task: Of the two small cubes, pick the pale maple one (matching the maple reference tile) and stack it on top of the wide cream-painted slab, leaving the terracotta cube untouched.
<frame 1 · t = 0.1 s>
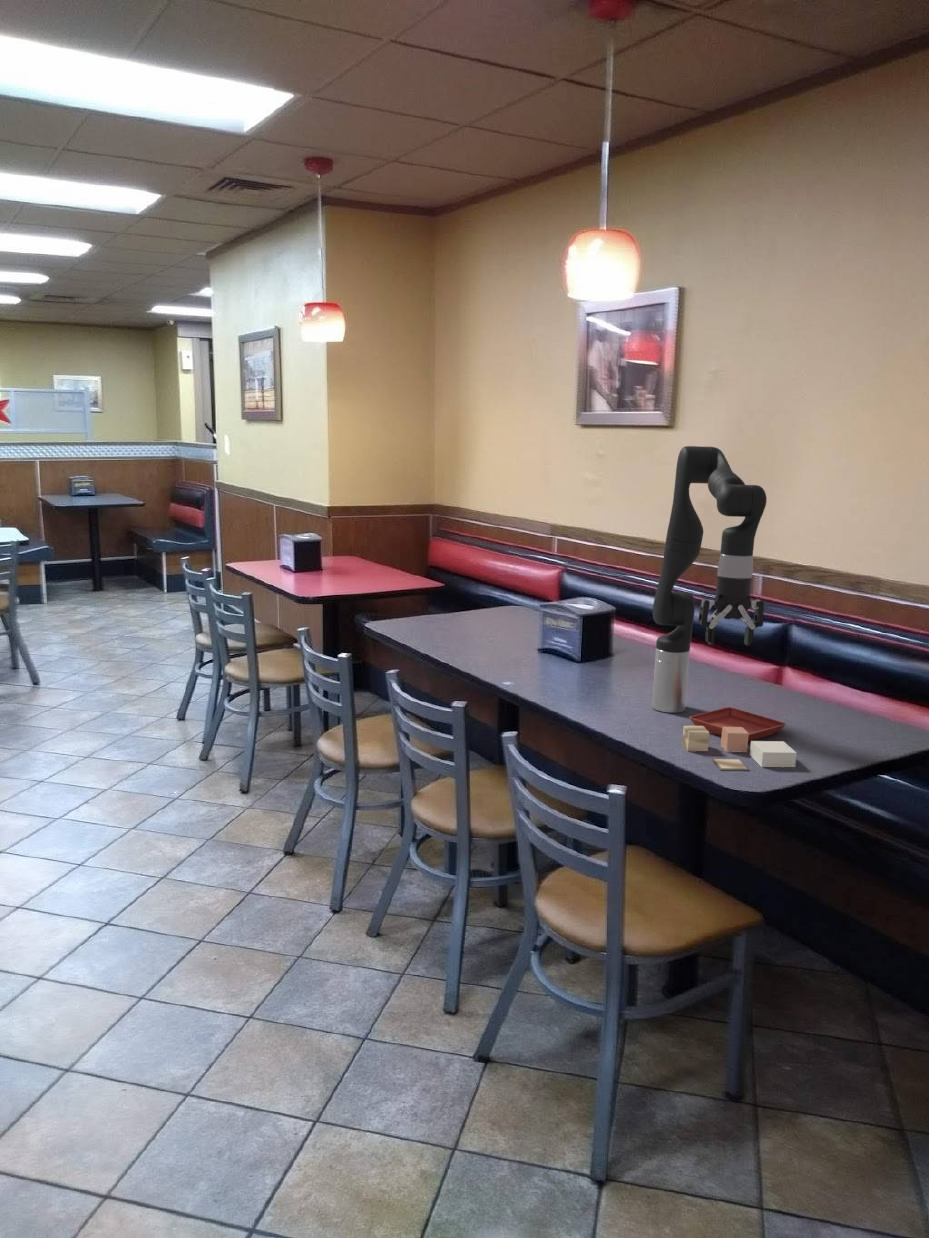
hand: (728, 644, 211), 29 cm above the table, fingers open, 8 cm apart
maple cube: (694, 748, 228), on the table
base slab: (771, 762, 220), on the table
plant saucer: (736, 732, 243), on the table
reference tile: (730, 765, 216), on the table
terracotta cube: (733, 749, 228), on the table
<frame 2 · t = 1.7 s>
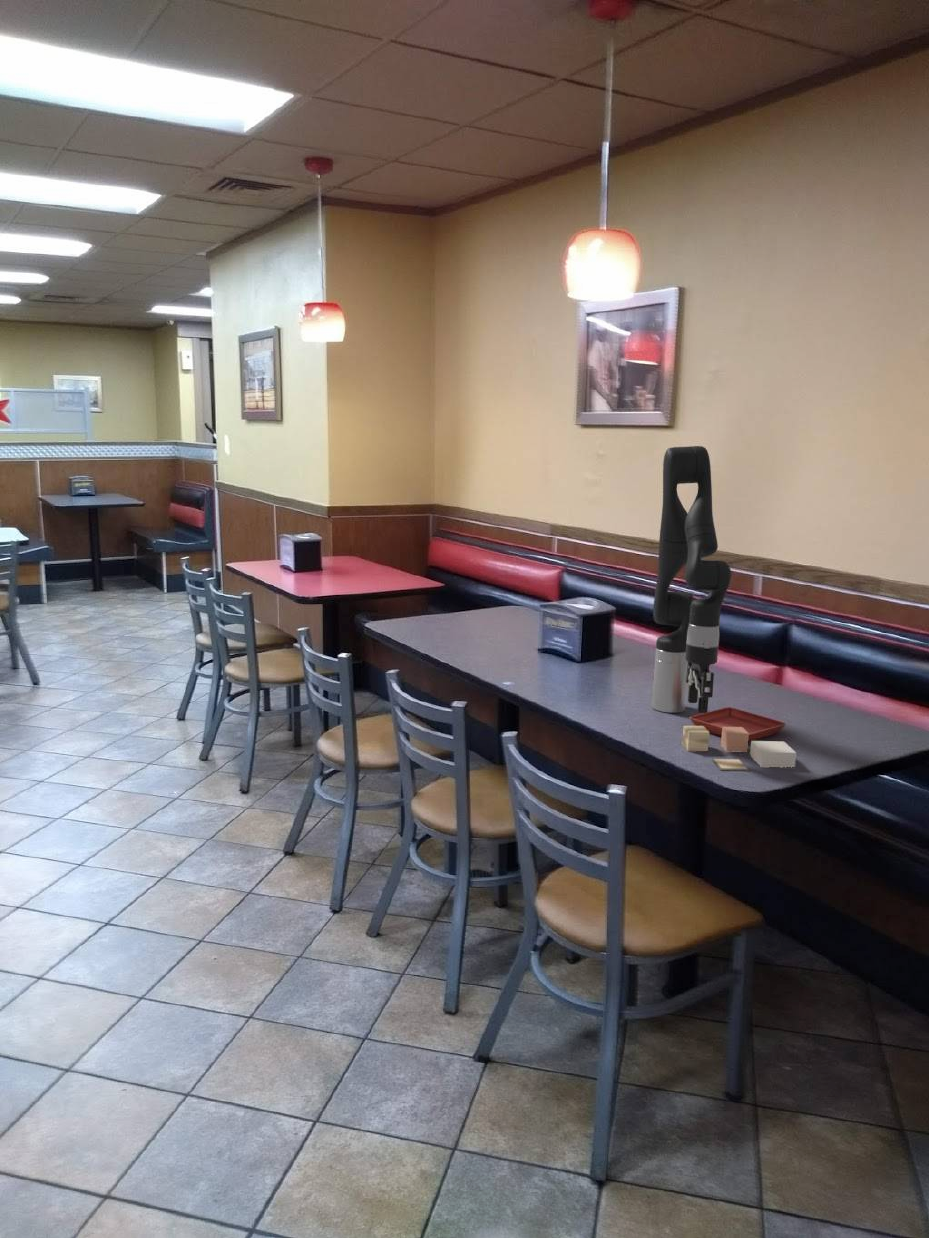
hand: (697, 707, 226), 10 cm above the table, fingers open, 8 cm apart
nothing on the table moved.
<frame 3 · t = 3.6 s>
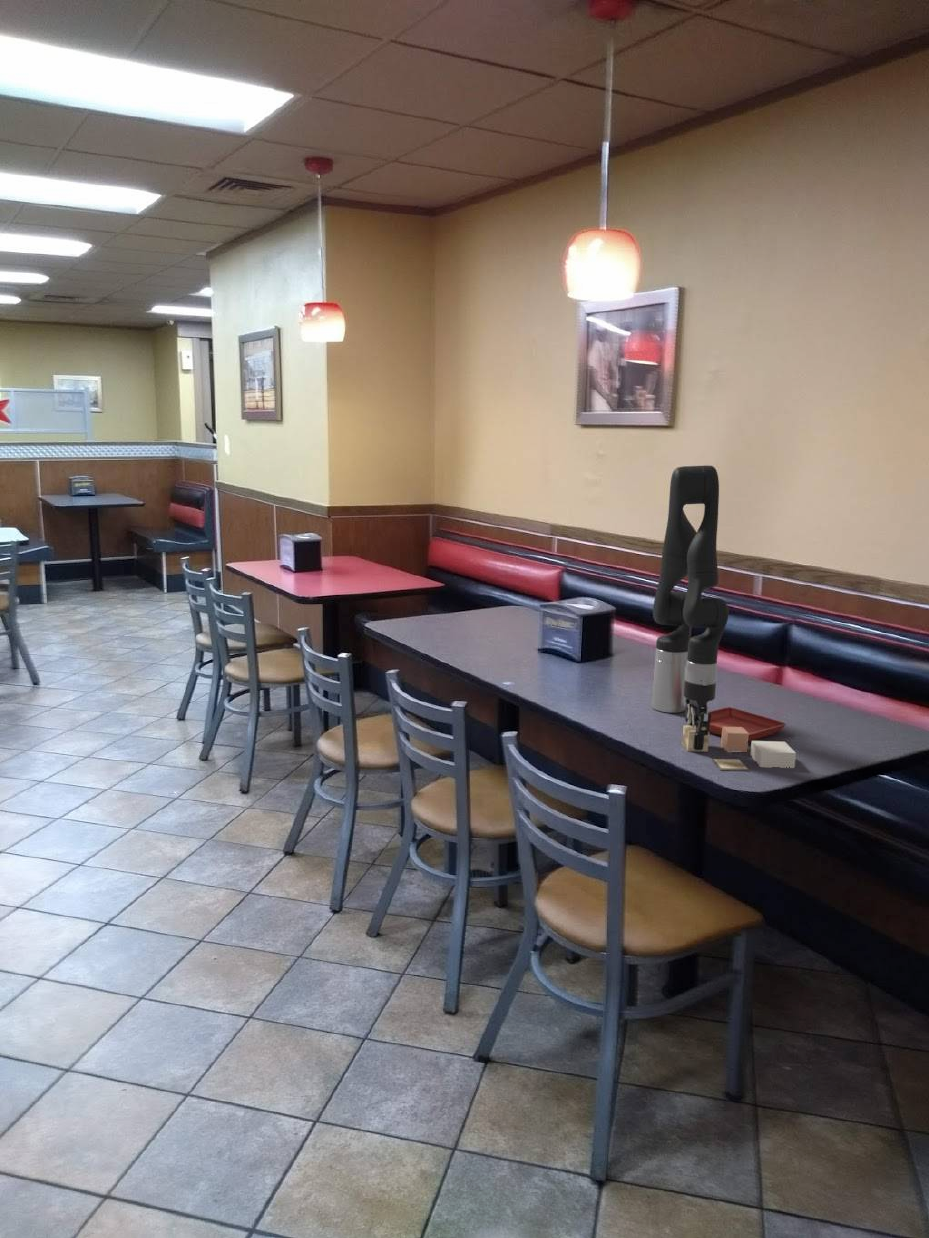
hand: (695, 745, 228), 1 cm above the table, fingers closed on maple cube, 5 cm apart
maple cube: (694, 747, 228), on the table, touching gripper
everything else where it was.
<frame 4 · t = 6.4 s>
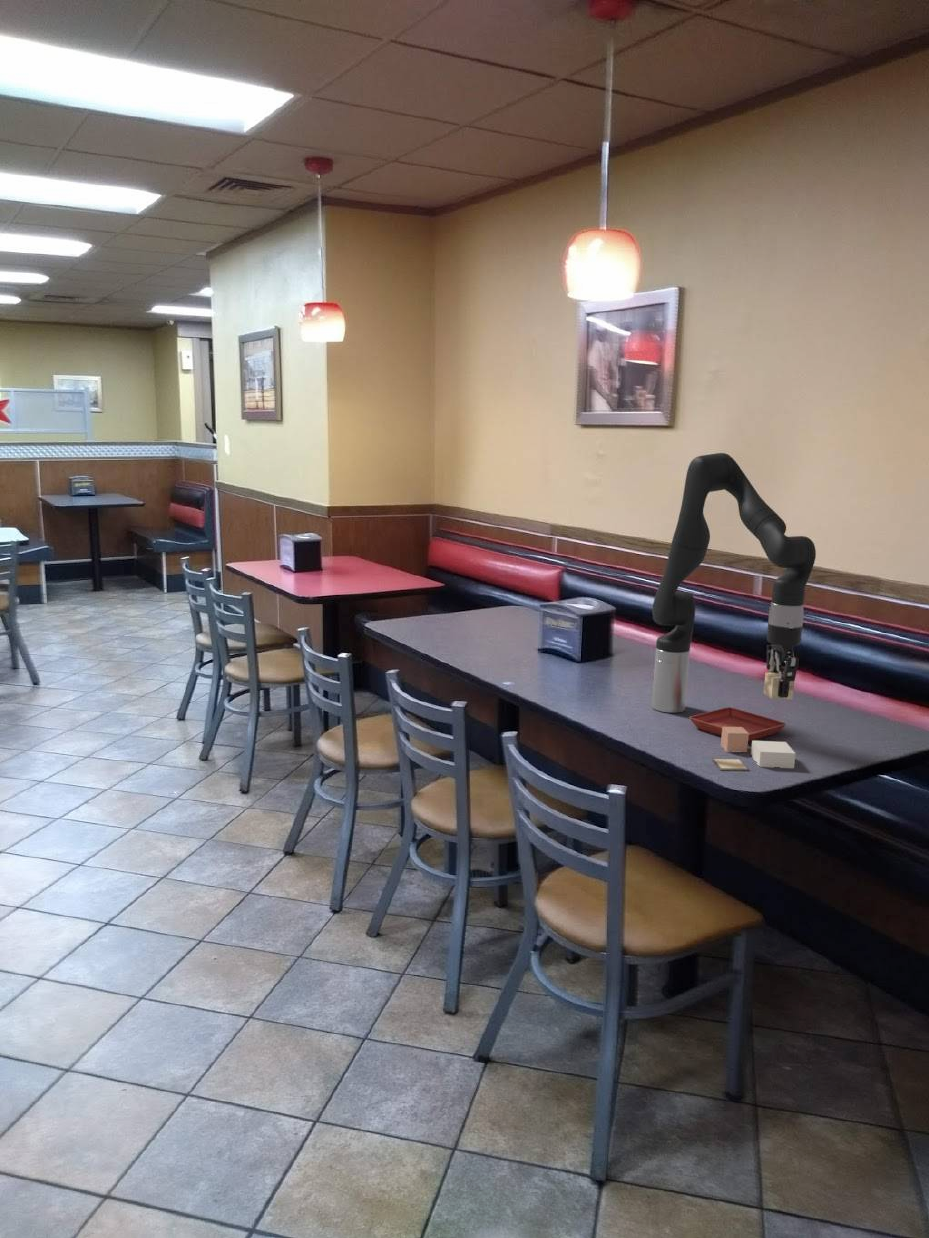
hand: (778, 693, 216), 17 cm above the table, fingers closed on maple cube, 5 cm apart
maple cube: (777, 696, 217), point 16 cm above the table, touching gripper
everything else where it was.
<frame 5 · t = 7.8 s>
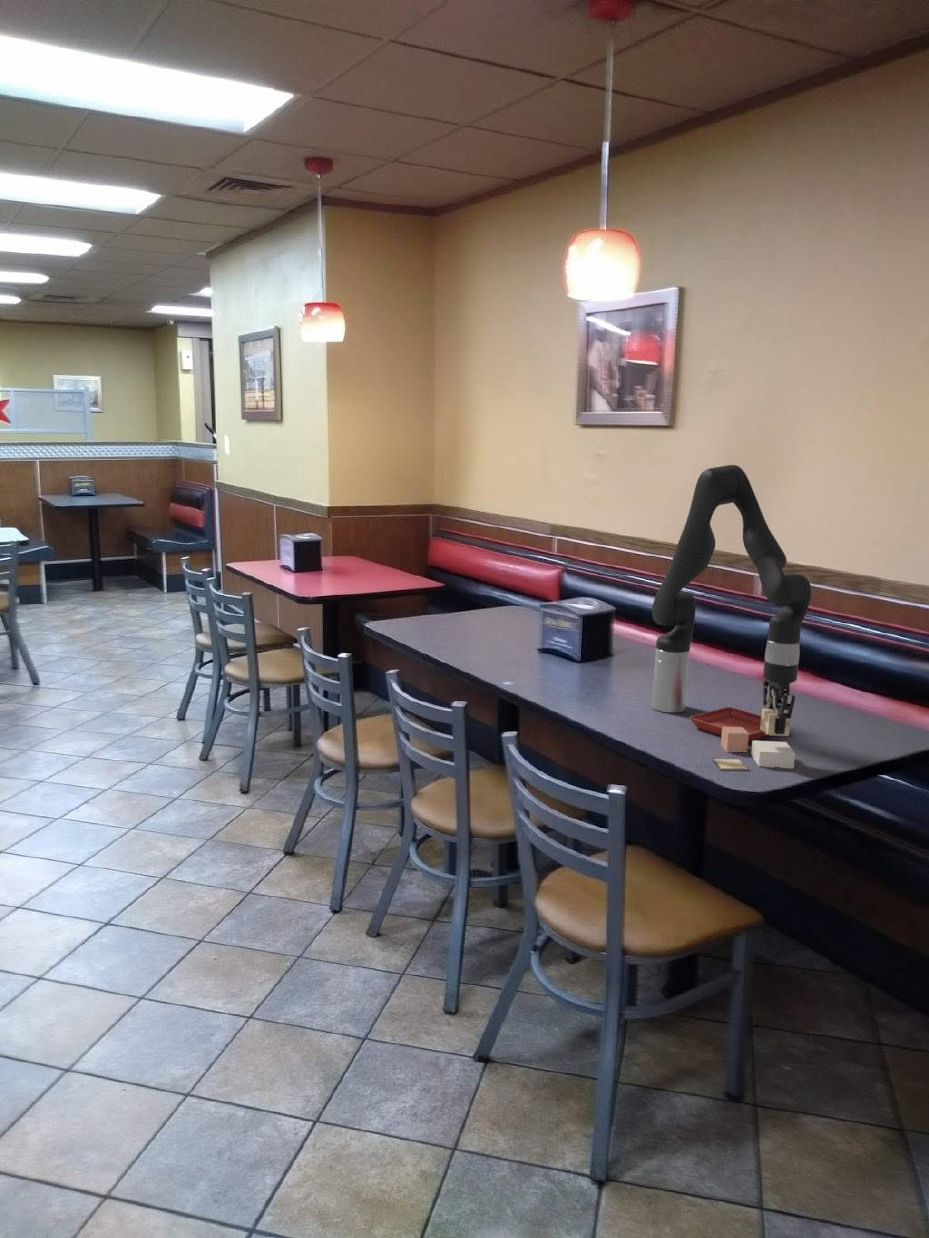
hand: (774, 729, 218), 8 cm above the table, fingers closed on maple cube, 5 cm apart
maple cube: (774, 732, 218), point 7 cm above the table, touching gripper
everything else where it was.
when the fingers open (6 cm above the table, at t = 9.1 s): maple cube drops 2 cm, resting on base slab.
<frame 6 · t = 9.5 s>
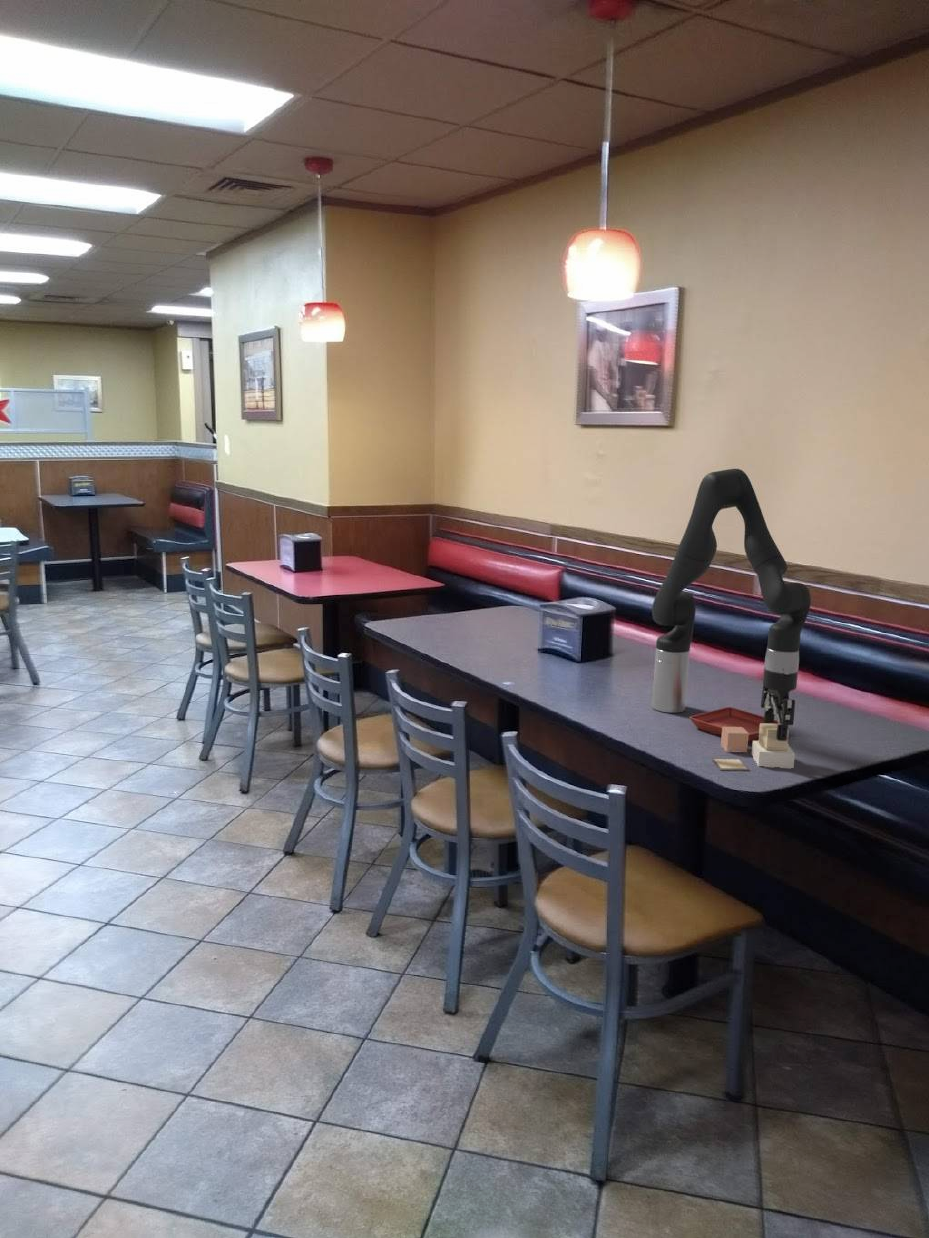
hand: (774, 734, 218), 7 cm above the table, fingers open, 8 cm apart
maple cube: (772, 746, 219), point 4 cm above the table, touching base slab
base slab: (771, 763, 220), on the table, touching maple cube
everything else where it was.
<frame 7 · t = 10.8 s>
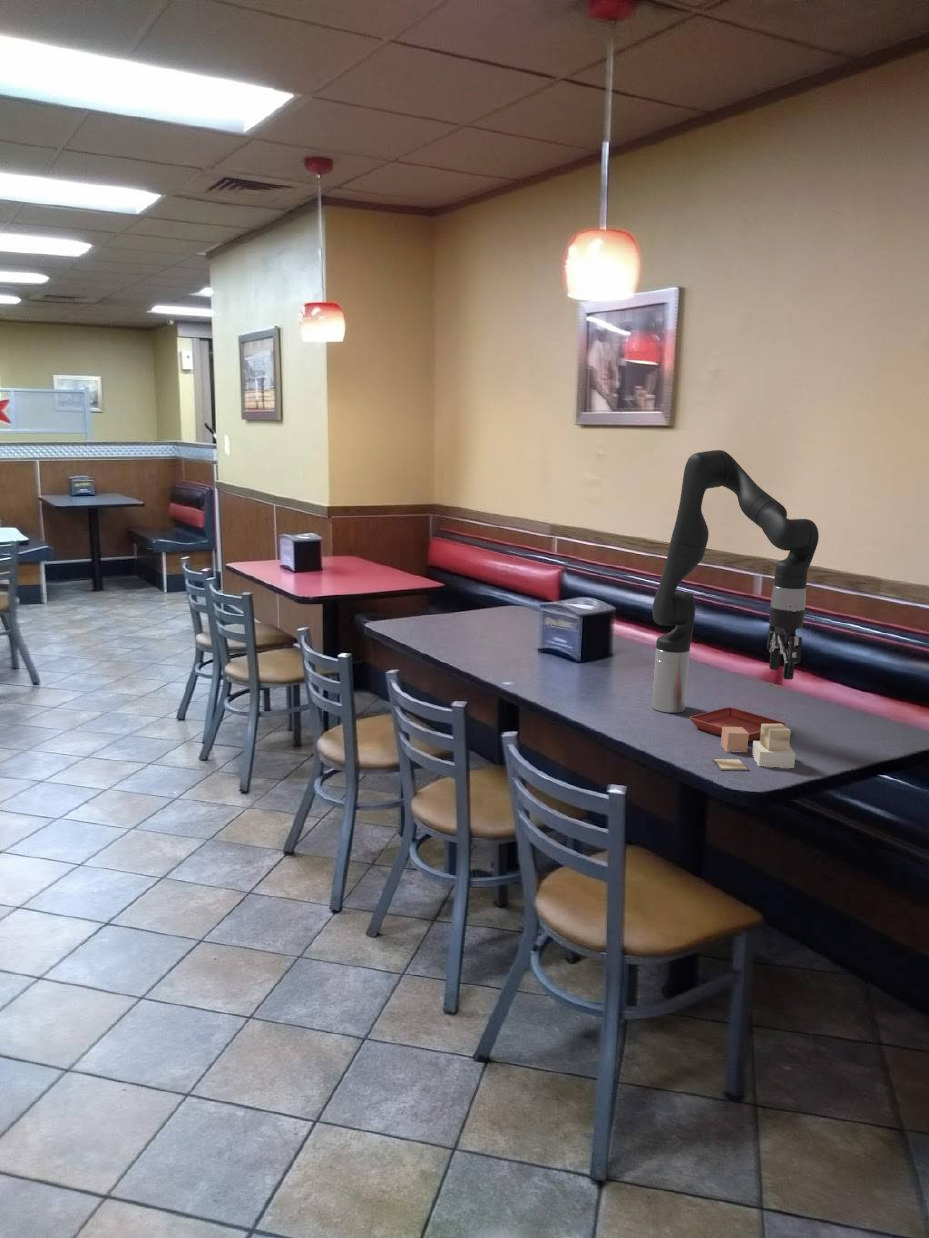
hand: (780, 674, 215), 22 cm above the table, fingers open, 8 cm apart
nothing on the table moved.
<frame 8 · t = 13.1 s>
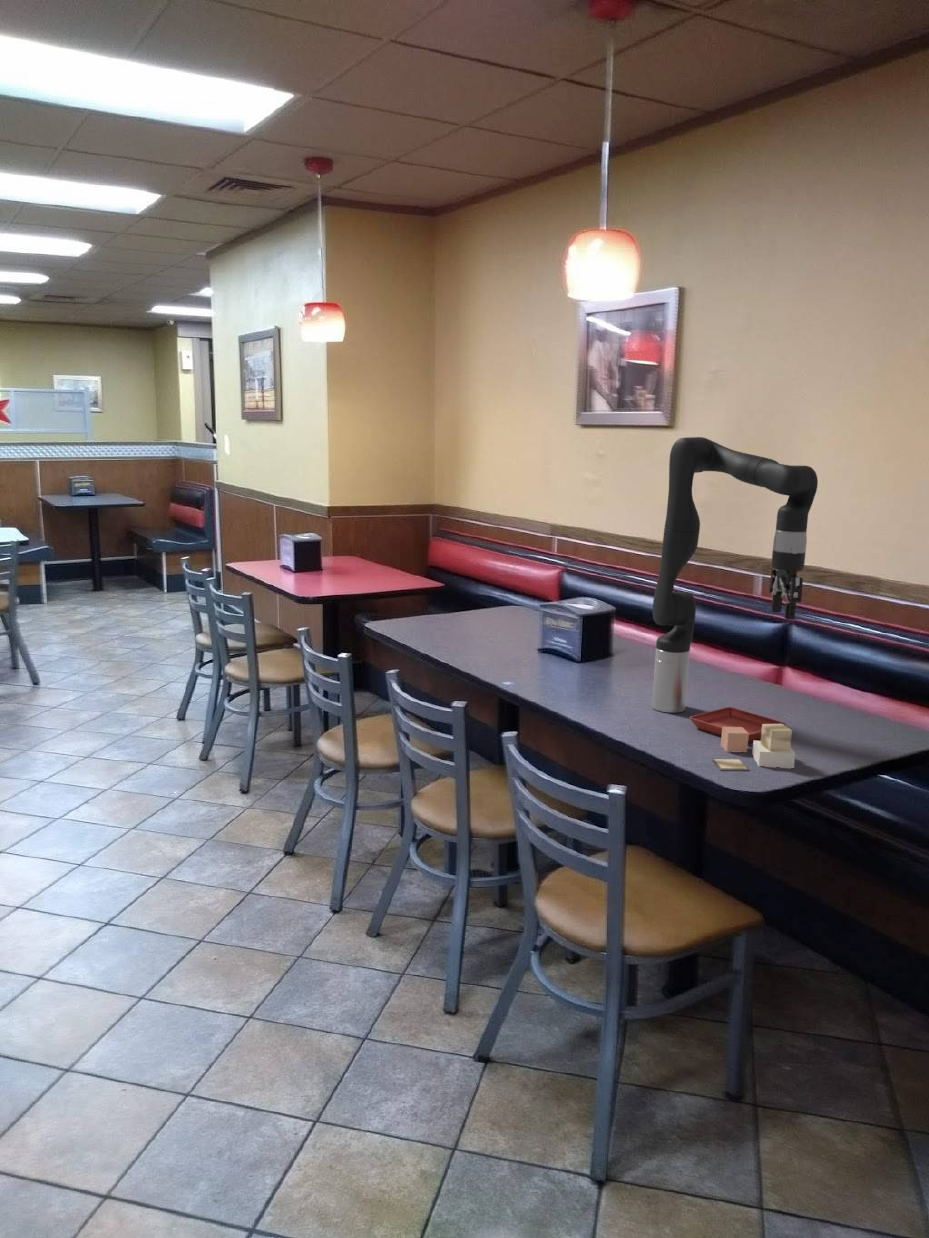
hand: (782, 615, 225), 33 cm above the table, fingers open, 8 cm apart
nothing on the table moved.
at the end: maple cube 0.3 cm off-centre on the base slab, point 4.0 cm above the base slab's base; maple cube tilted 0°; terracotta cube moved 0.6 cm from its start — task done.
